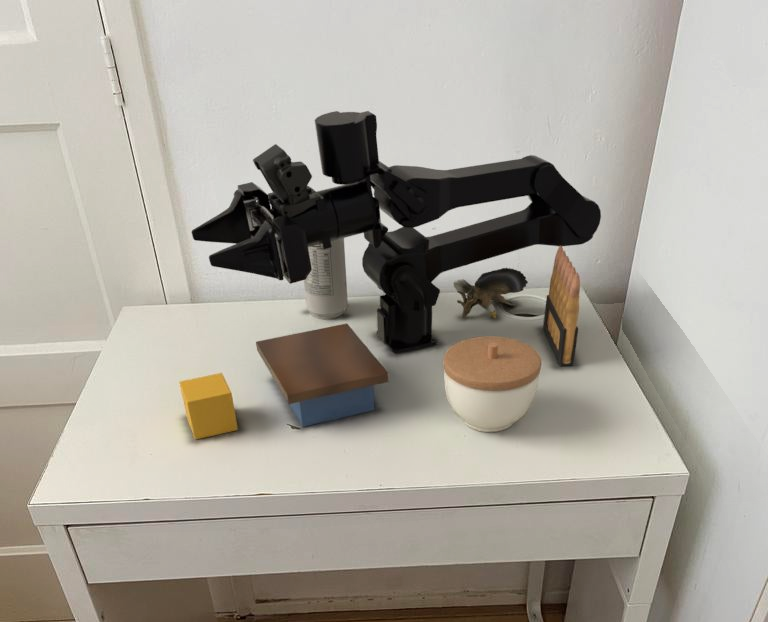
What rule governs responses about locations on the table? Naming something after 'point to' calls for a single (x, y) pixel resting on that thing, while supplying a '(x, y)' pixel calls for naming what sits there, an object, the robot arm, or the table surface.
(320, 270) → the energy drink can
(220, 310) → the table surface
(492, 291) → the brown legged piece
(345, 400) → the blue box
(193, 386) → the yellow block
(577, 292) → the ammunition clip
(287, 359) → the board
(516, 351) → the trinket box
